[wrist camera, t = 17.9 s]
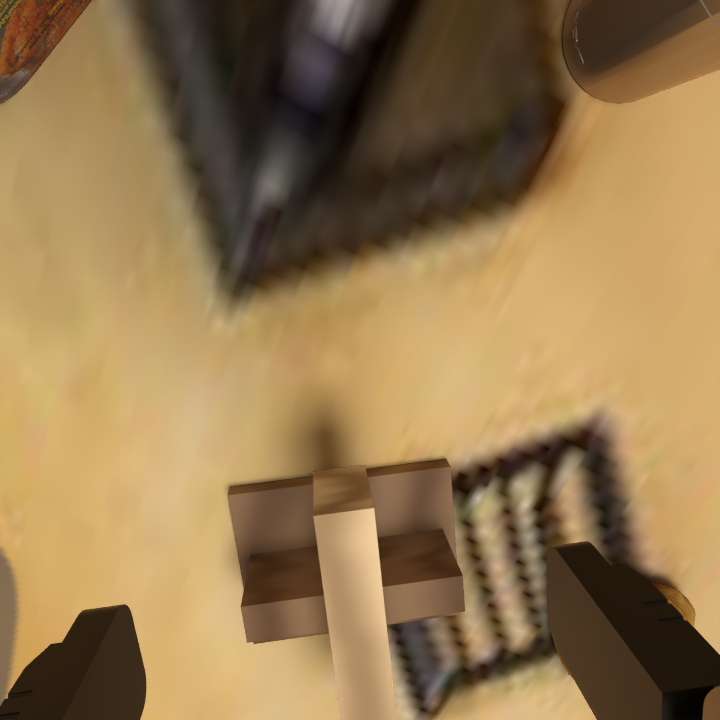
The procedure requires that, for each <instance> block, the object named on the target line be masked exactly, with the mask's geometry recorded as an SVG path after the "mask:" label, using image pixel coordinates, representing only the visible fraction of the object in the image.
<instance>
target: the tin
mask: <svg viewBox="0 0 720 720" xmlns="http://www.w3.org/2000/svg"><path fill="white" fill-rule="evenodd" d="M90 2H91V0H0V104H1V103H3V102H4V101H6V100H8V99H9V98H10V97H12V96H13V95H14V94H16V93H17V92H18V91H19V90H20V89H21V88H22V87H23V86H24V85H25V84H26V83H27V82H28V81H29V80H30V78H31V77H32V76H33V75H34V73H35V72H36V71H37V70H38V68H39V67H40V66H41V64H42V63H43V62H44V61H45V59H46V58H47V57H48V55H49V54H50V53H51V51H52V50H53V49H54V48H55V46H56V45H57V44H58V43H59V41H60V40H61V39H62V37H63V36H64V35H65V33H66V32H67V31H68V30H69V28H70V27H71V26H72V25H73V23H74V22H75V21H76V20H77V18H78V17H79V16H80V14H81V13H82V12H83V11H84V9H85V8H86V7H87V6H88V4H89V3H90Z"/></svg>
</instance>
